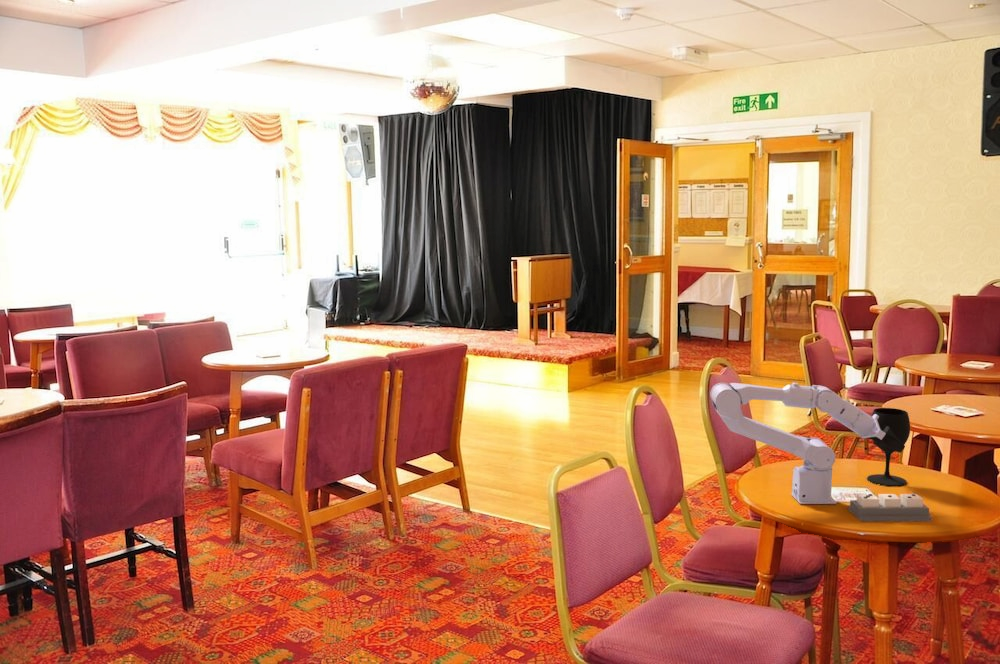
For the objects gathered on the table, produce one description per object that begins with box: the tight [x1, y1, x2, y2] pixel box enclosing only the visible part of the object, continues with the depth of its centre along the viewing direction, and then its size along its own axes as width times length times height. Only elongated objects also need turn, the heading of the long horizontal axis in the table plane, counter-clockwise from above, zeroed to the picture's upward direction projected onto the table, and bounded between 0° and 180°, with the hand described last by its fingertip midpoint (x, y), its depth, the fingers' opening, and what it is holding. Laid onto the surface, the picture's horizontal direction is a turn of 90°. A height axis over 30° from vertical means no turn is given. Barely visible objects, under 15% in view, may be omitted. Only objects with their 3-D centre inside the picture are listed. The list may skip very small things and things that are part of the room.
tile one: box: [877, 493, 901, 507], centre depth 224 cm, size 4×4×3 cm
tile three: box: [856, 493, 879, 507], centre depth 224 cm, size 4×4×3 cm
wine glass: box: [866, 407, 911, 487], centre depth 251 cm, size 10×10×20 cm
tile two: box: [899, 493, 924, 507], centre depth 224 cm, size 4×4×3 cm
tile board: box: [847, 499, 933, 522], centre depth 225 cm, size 17×9×3 cm, turn 89°
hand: (896, 446), depth 233 cm, fingers open, 7 cm apart
